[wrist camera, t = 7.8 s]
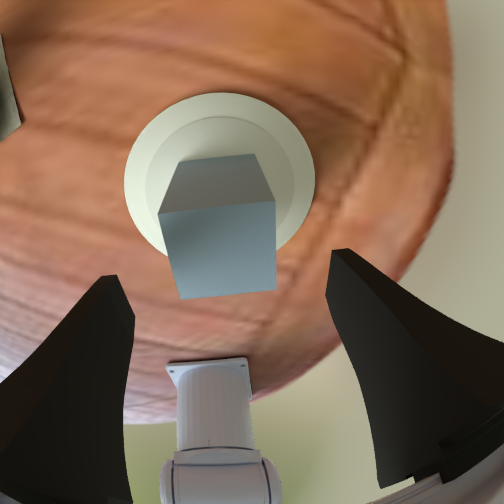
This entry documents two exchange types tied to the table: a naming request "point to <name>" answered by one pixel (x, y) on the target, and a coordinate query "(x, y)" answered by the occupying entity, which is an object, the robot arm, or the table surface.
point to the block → (220, 227)
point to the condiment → (6, 100)
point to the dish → (218, 145)
